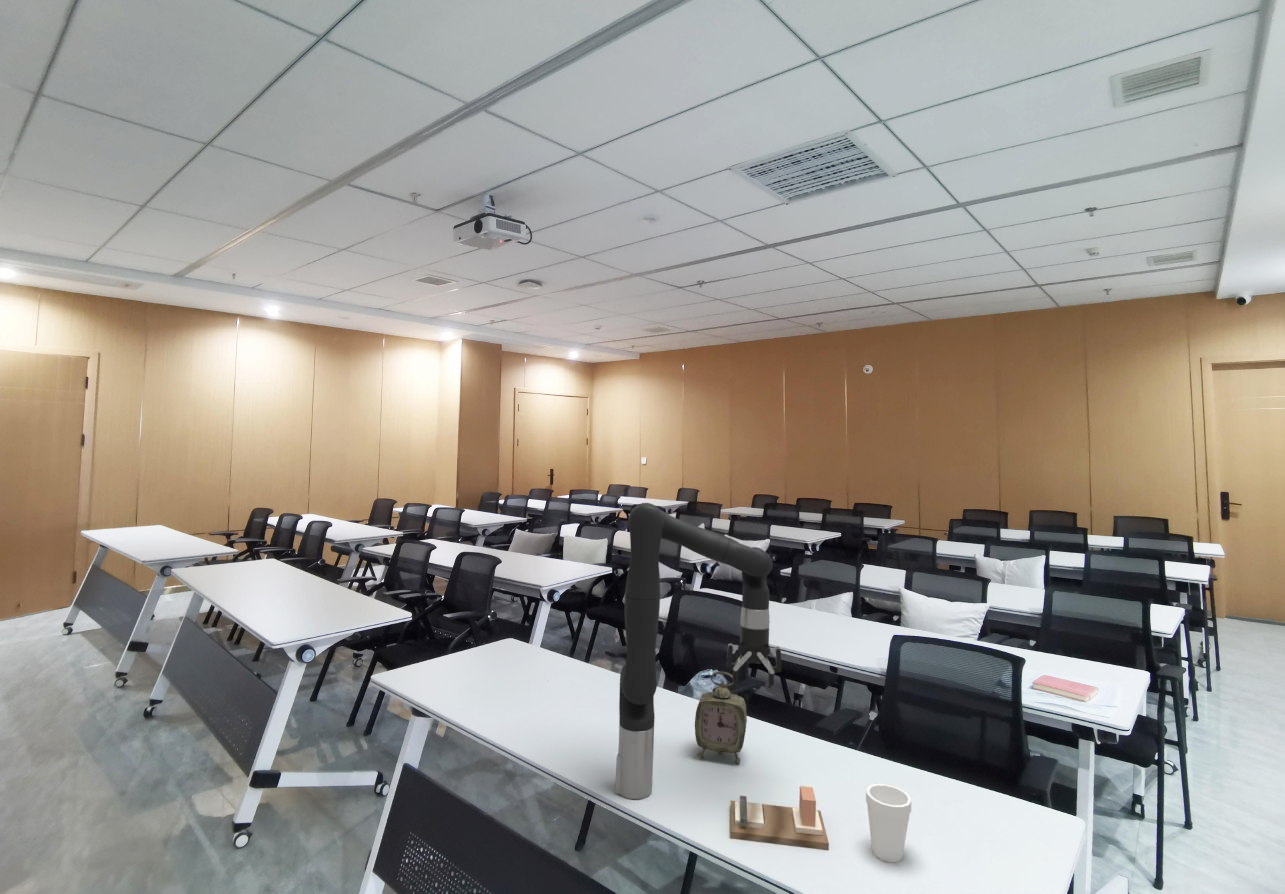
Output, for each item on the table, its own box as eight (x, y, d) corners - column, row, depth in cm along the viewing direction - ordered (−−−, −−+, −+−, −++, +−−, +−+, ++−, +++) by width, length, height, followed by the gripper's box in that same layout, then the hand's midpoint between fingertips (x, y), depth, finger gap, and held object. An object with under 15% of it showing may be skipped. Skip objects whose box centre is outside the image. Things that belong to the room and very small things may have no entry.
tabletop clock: (693, 759, 177) (696, 673, 177) (698, 745, 186) (700, 663, 186) (743, 767, 174) (746, 679, 174) (746, 752, 182) (748, 669, 183)
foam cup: (898, 840, 142) (899, 784, 143) (917, 866, 133) (919, 807, 133) (858, 839, 142) (859, 783, 142) (874, 866, 133) (876, 806, 133)
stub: (795, 832, 141) (796, 800, 142) (792, 812, 149) (793, 782, 149) (822, 835, 141) (823, 803, 141) (817, 815, 149) (818, 785, 149)
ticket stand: (730, 837, 141) (731, 821, 141) (730, 806, 154) (731, 791, 154) (828, 849, 138) (829, 832, 138) (820, 816, 151) (820, 801, 151)
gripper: (727, 625, 159) (725, 688, 158) (783, 629, 157) (781, 693, 156) (727, 618, 166) (725, 678, 166) (781, 622, 164) (779, 682, 164)
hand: (752, 685), depth 161 cm, fingers open, 8 cm apart
